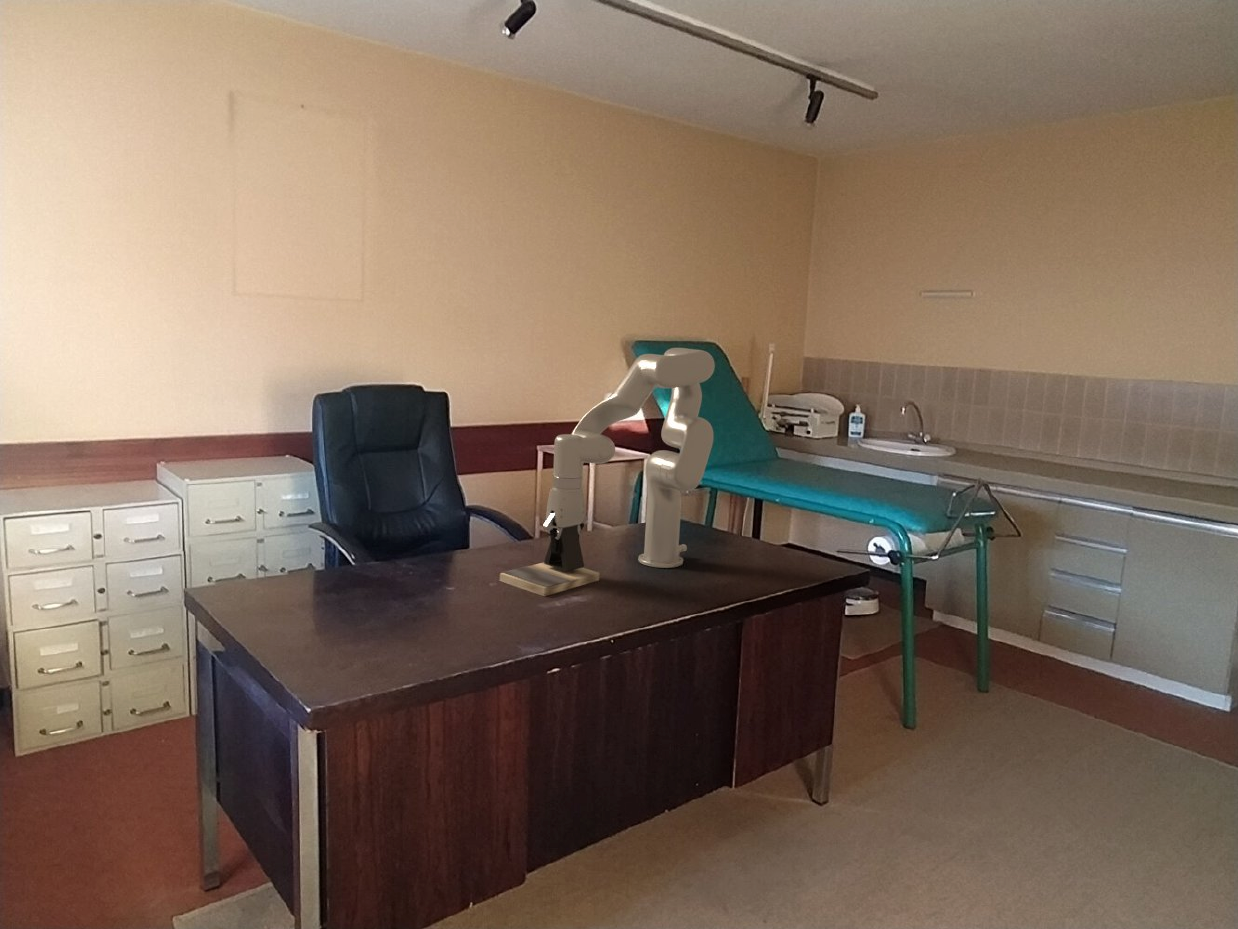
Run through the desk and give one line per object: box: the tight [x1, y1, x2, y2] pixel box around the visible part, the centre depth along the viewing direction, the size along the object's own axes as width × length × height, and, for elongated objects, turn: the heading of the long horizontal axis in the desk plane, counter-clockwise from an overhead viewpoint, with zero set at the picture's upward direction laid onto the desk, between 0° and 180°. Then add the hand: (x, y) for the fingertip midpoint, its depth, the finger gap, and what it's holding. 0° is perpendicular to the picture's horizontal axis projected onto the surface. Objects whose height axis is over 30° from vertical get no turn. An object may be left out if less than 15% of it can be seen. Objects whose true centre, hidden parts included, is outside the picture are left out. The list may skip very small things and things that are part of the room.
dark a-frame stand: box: [543, 523, 585, 571], centre depth 232 cm, size 9×6×12 cm, turn 46°
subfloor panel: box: [499, 562, 600, 597], centre depth 229 cm, size 20×16×2 cm
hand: (564, 550), depth 232 cm, fingers closed on dark a-frame stand, 6 cm apart
